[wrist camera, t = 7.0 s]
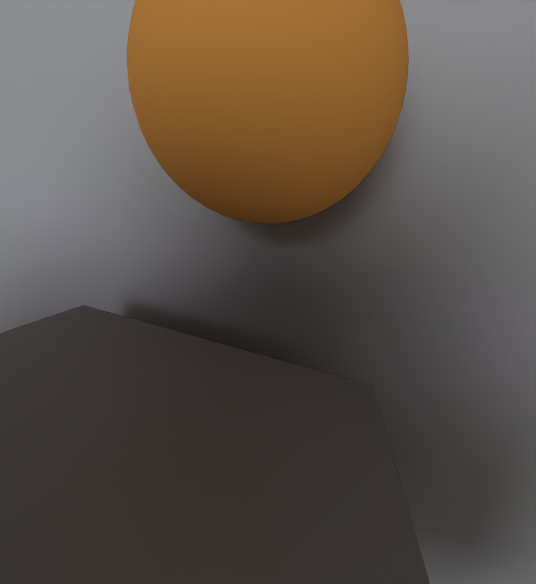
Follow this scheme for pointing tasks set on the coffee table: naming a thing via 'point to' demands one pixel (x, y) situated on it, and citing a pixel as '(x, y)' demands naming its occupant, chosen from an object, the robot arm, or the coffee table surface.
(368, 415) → the grey cube
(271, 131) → the ball
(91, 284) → the coffee table surface
